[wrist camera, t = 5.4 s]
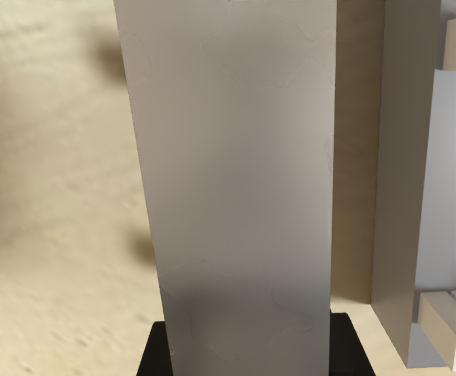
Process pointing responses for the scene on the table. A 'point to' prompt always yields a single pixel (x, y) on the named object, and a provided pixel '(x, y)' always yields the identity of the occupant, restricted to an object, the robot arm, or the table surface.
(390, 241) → the equipment case
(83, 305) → the table surface
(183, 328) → the bar
